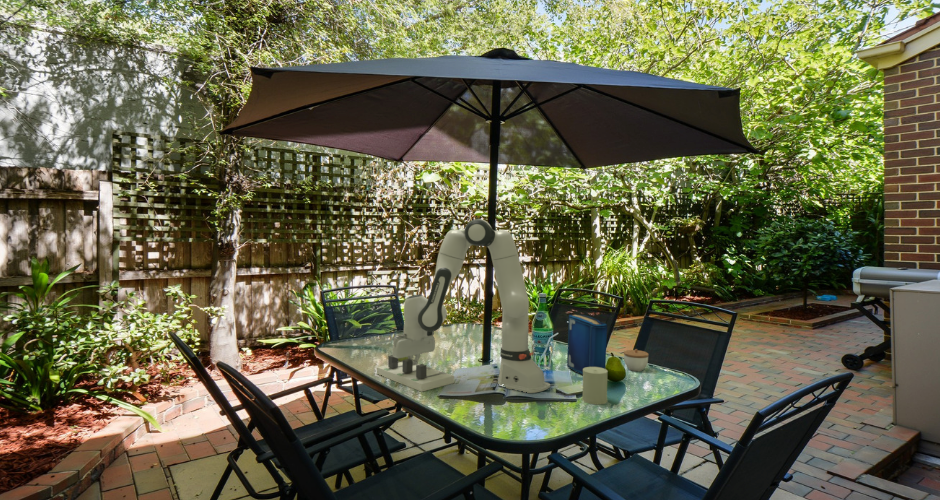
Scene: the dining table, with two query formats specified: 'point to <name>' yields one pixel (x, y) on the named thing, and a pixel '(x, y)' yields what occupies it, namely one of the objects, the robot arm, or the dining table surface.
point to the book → (586, 343)
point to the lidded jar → (636, 359)
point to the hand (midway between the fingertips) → (413, 365)
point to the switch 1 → (392, 362)
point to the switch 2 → (421, 371)
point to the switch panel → (410, 380)
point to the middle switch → (407, 366)
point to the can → (594, 385)
